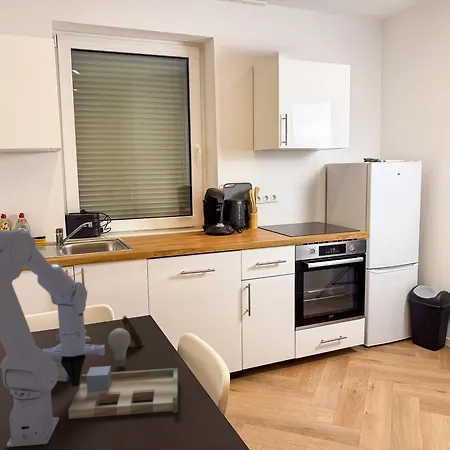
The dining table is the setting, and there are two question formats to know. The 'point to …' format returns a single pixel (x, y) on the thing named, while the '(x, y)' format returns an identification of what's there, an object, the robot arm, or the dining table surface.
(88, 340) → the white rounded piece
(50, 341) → the dining table surface
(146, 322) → the dining table surface
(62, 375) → the medicine box
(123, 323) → the rock
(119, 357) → the lightbulb
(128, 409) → the tray
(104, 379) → the slate block
